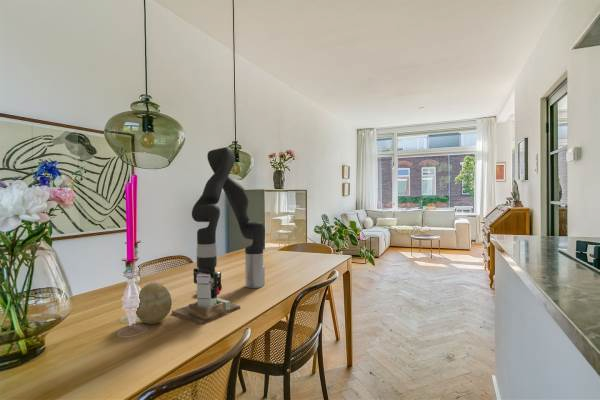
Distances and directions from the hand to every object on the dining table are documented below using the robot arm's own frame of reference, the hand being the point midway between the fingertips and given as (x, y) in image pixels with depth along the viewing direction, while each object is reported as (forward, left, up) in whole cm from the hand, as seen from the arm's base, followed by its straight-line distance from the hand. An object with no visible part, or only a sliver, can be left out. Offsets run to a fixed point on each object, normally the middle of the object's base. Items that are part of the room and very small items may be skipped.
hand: (207, 296), depth 131 cm
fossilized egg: (+16, -11, -8) cm, 21 cm away
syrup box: (0, 0, -5) cm, 5 cm away
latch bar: (-6, 0, -6) cm, 9 cm away
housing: (-3, -4, -8) cm, 9 cm away
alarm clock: (-20, -23, -8) cm, 32 cm away
